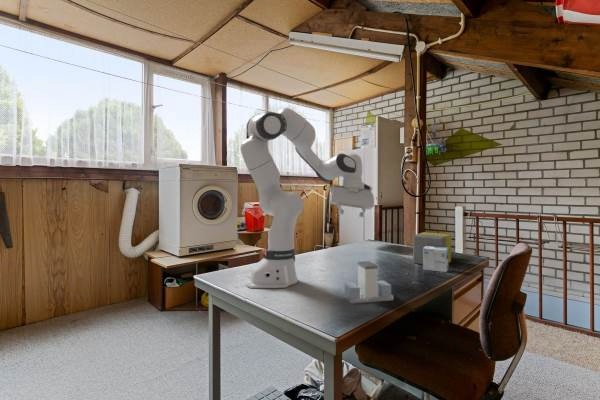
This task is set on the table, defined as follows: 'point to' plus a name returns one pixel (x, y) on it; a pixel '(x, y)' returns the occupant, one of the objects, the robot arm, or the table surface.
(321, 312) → the table surface
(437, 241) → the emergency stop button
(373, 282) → the block
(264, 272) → the robot arm
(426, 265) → the light bulb box
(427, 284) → the table surface
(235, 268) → the table surface
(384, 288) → the mounted modules
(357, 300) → the grey flat base plate
